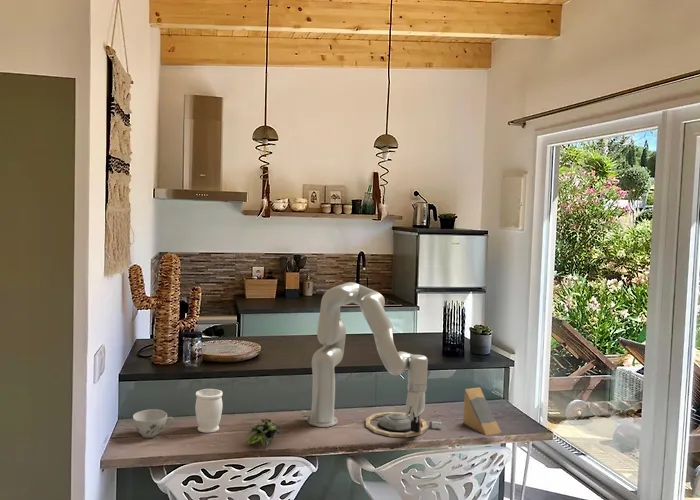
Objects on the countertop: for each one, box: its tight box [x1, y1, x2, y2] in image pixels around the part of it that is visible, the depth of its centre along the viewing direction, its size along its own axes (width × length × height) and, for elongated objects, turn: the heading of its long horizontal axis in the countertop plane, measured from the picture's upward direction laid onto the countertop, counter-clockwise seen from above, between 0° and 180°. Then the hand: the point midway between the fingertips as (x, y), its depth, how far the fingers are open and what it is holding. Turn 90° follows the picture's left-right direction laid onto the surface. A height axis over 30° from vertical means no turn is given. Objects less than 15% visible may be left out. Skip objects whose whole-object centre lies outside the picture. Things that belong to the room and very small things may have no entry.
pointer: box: [428, 420, 443, 430], centre depth 252 cm, size 5×2×2 cm, turn 86°
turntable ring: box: [365, 411, 429, 438], centre depth 253 cm, size 26×26×6 cm
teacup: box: [132, 408, 174, 438], centre depth 233 cm, size 15×12×8 cm
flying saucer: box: [378, 413, 411, 432], centre depth 253 cm, size 15×15×6 cm
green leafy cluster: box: [246, 418, 282, 449], centre depth 228 cm, size 11×11×12 cm
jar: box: [194, 388, 223, 434], centre depth 240 cm, size 11×10×15 cm
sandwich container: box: [463, 387, 502, 436], centre depth 254 cm, size 9×15×15 cm, turn 28°
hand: (414, 431), depth 241 cm, fingers closed
